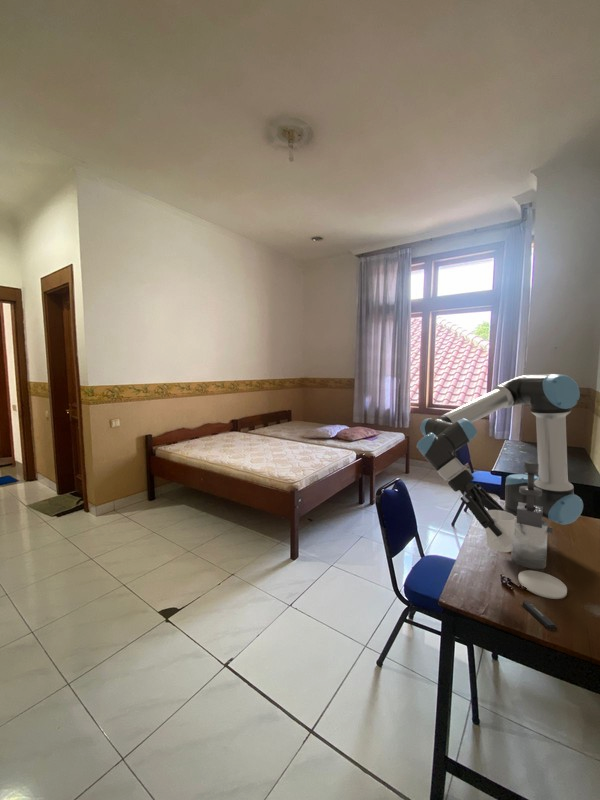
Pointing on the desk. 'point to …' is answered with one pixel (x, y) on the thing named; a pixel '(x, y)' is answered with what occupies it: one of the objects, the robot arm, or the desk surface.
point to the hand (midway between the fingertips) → (512, 538)
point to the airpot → (530, 537)
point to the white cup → (506, 524)
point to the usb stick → (539, 615)
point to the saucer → (542, 584)
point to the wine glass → (530, 484)
